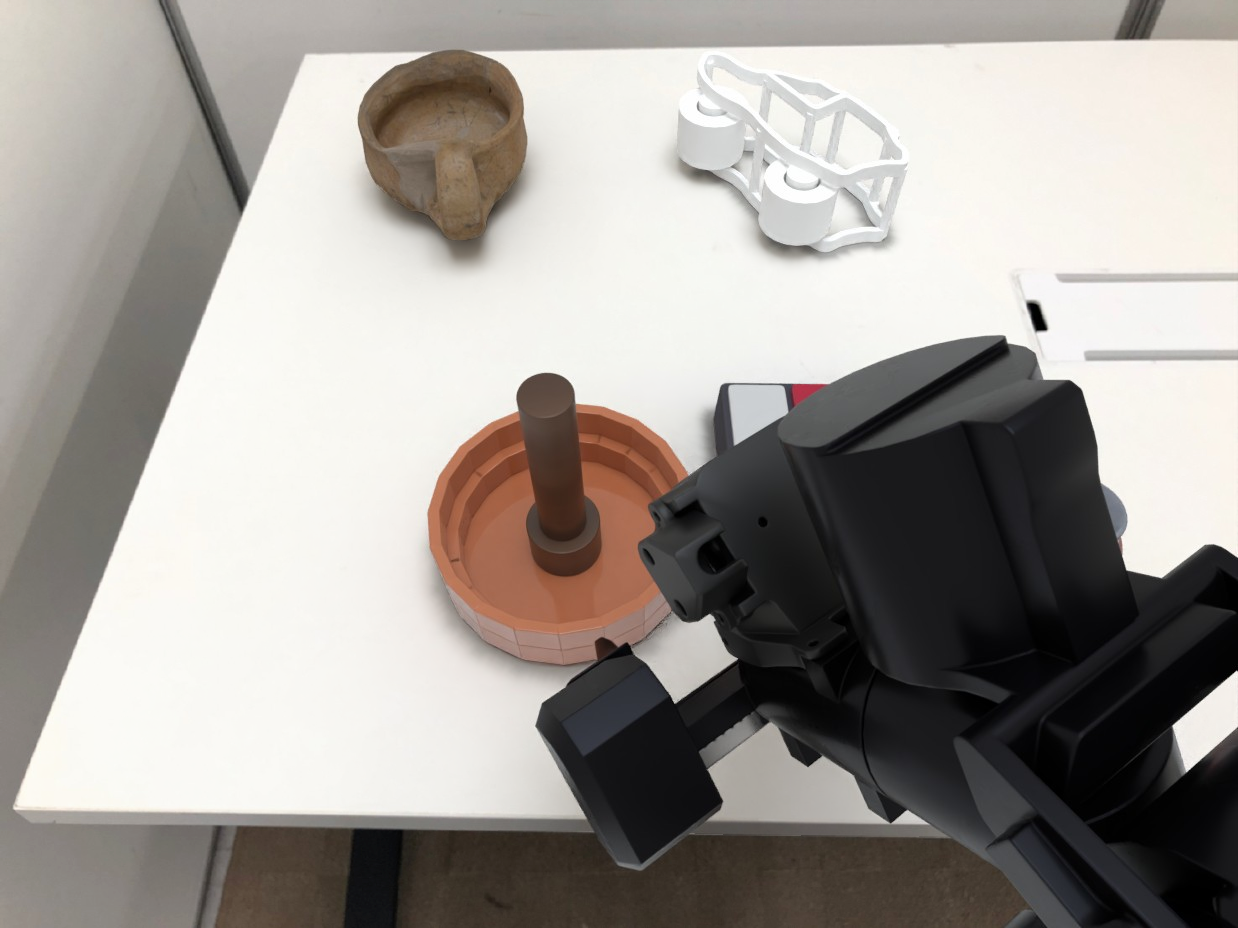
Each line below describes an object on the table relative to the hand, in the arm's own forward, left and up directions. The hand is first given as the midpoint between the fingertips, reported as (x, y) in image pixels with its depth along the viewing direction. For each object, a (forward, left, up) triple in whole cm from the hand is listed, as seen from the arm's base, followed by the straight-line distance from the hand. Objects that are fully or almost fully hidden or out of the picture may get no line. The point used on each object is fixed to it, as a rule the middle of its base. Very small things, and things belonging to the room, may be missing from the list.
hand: (686, 591), depth 39 cm
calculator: (+12, -13, -13) cm, 22 cm away
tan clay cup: (+45, +9, -13) cm, 47 cm away
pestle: (+10, +5, -12) cm, 16 cm away
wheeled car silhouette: (+41, -17, -13) cm, 46 cm away
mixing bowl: (+10, +5, -12) cm, 17 cm away
